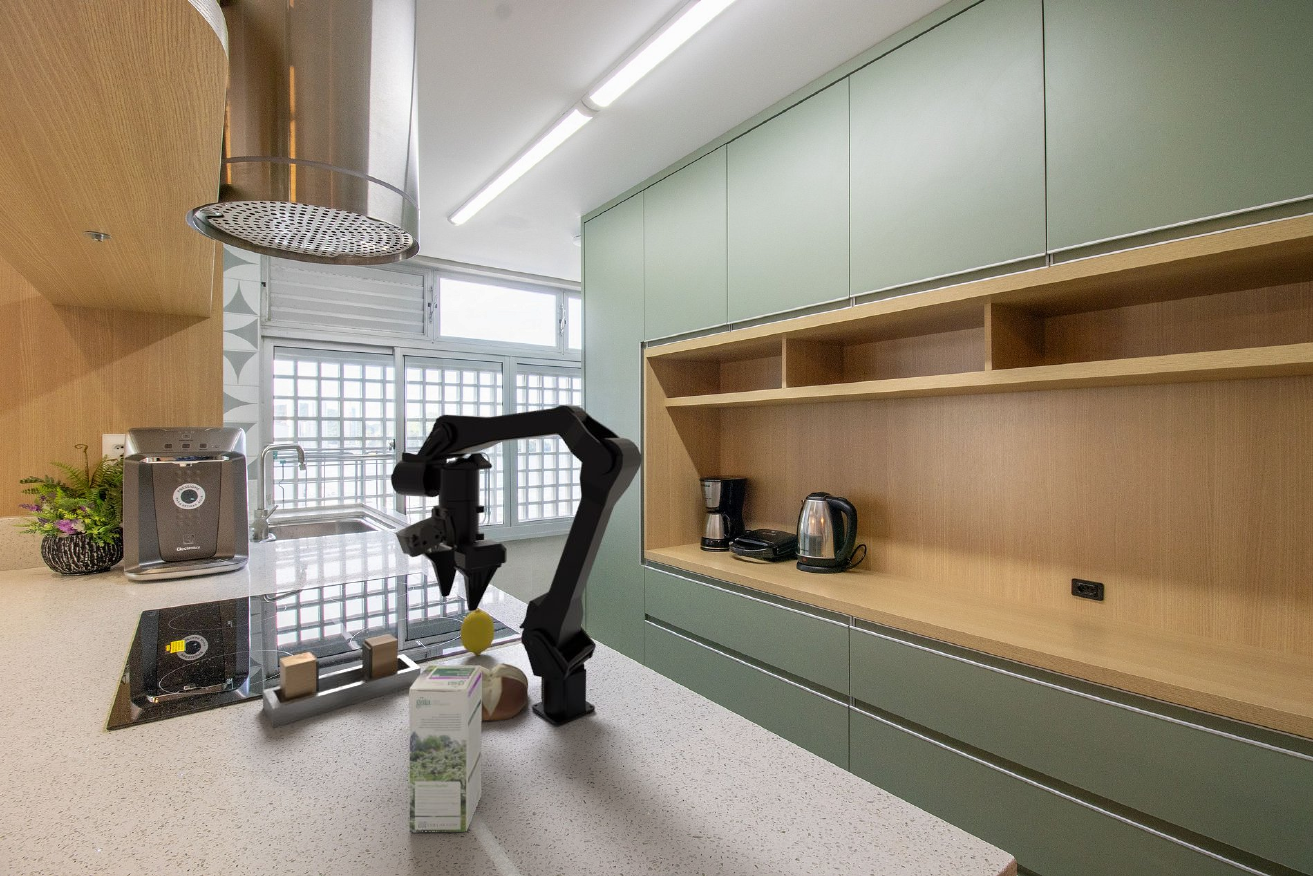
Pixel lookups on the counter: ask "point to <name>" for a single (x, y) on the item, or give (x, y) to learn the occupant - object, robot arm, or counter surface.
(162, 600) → the counter surface
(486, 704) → the bread
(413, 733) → the syrup box
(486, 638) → the lemon
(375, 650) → the upright wooden block
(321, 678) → the rail
